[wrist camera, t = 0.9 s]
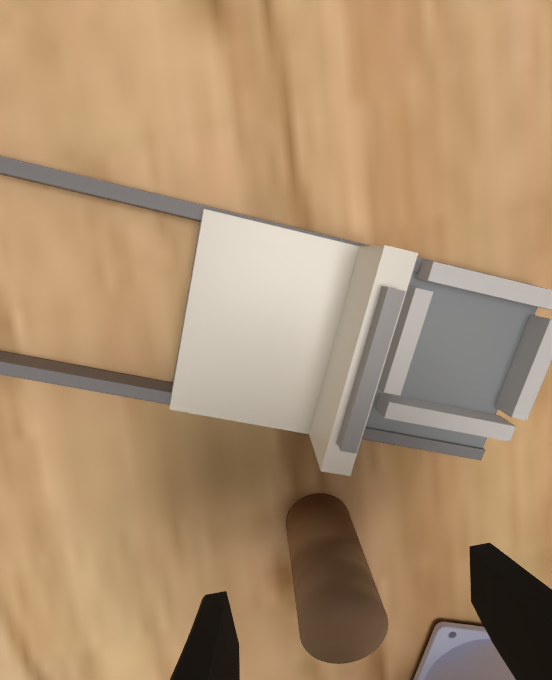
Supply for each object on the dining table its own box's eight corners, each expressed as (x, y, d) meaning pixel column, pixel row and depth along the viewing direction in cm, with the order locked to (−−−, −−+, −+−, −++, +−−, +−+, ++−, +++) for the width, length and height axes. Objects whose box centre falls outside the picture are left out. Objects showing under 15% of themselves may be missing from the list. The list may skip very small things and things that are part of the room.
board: (539, 289, 18) (578, 294, 16) (477, 449, 20) (504, 473, 18) (-35, 150, 15) (-83, 133, 13) (-42, 355, 17) (-84, 370, 15)
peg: (356, 498, 20) (399, 598, 14) (340, 552, 21) (373, 667, 15) (294, 489, 20) (311, 588, 14) (279, 543, 21) (290, 658, 15)
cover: (380, 253, 16) (426, 253, 12) (330, 430, 18) (354, 486, 13) (206, 211, 15) (188, 195, 11) (173, 402, 17) (146, 452, 13)
